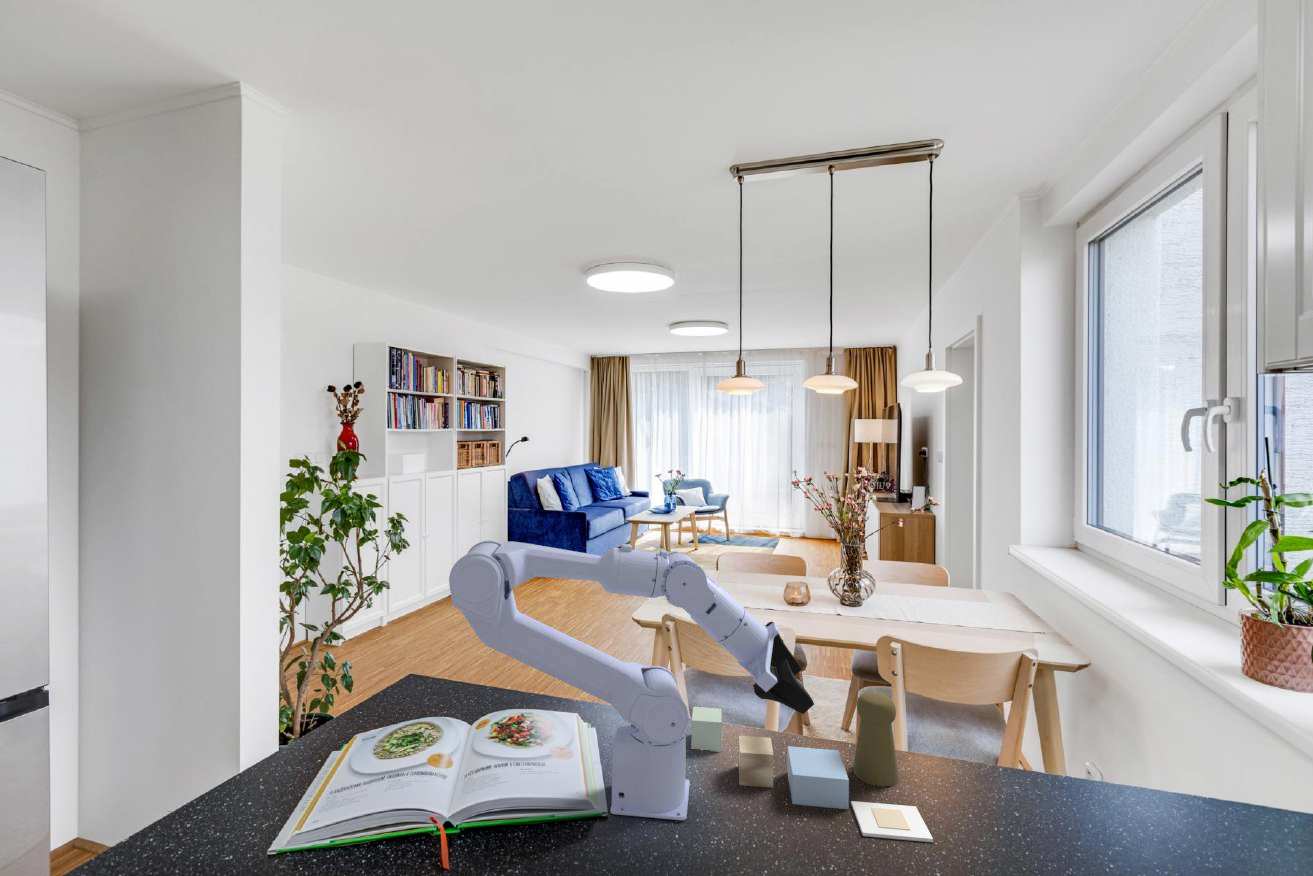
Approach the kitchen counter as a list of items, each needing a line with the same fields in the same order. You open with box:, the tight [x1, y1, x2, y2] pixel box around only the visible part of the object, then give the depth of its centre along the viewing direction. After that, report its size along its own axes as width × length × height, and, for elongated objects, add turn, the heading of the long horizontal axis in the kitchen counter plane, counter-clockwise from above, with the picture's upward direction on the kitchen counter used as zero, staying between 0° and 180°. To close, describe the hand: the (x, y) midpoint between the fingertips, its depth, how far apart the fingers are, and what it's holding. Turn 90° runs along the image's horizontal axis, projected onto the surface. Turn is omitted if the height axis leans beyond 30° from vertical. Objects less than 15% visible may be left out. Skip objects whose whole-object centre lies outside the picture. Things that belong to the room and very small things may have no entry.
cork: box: [852, 691, 900, 788], centre depth 80 cm, size 6×6×11 cm
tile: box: [850, 800, 934, 843], centre depth 70 cm, size 8×6×1 cm
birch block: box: [738, 735, 774, 789], centre depth 79 cm, size 4×4×4 cm
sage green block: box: [690, 706, 723, 753], centre depth 88 cm, size 4×4×4 cm
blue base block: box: [786, 745, 850, 810], centre depth 76 cm, size 7×7×4 cm
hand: (801, 689), depth 76 cm, fingers open, 7 cm apart
